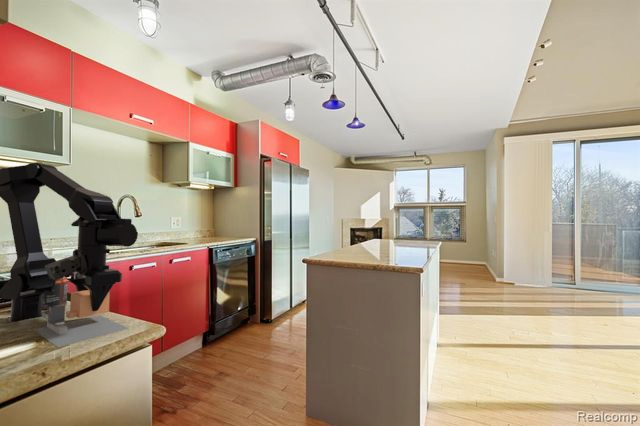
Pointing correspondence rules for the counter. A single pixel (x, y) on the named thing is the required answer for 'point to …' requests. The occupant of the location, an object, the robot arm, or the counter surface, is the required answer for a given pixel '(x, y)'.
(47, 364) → the counter surface
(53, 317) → the latch bolt
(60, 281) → the supplement bottle
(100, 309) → the cover
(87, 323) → the latch plate
